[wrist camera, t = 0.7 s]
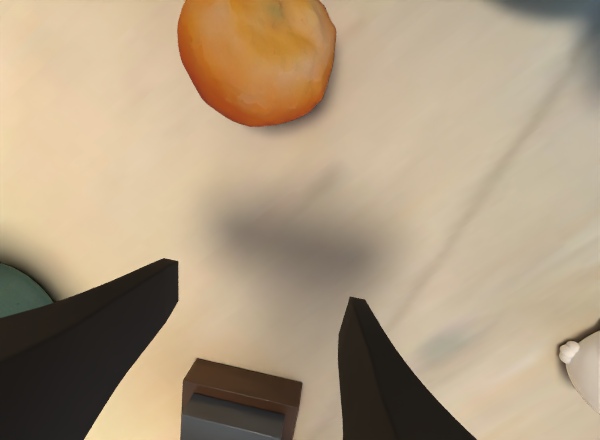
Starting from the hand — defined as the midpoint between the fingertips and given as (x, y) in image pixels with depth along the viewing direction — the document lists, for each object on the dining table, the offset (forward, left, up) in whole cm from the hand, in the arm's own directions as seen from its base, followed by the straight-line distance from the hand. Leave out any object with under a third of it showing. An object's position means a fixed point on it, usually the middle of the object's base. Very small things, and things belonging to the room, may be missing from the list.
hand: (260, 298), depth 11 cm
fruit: (+11, +3, -10) cm, 15 cm away
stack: (-19, +2, -10) cm, 22 cm away
